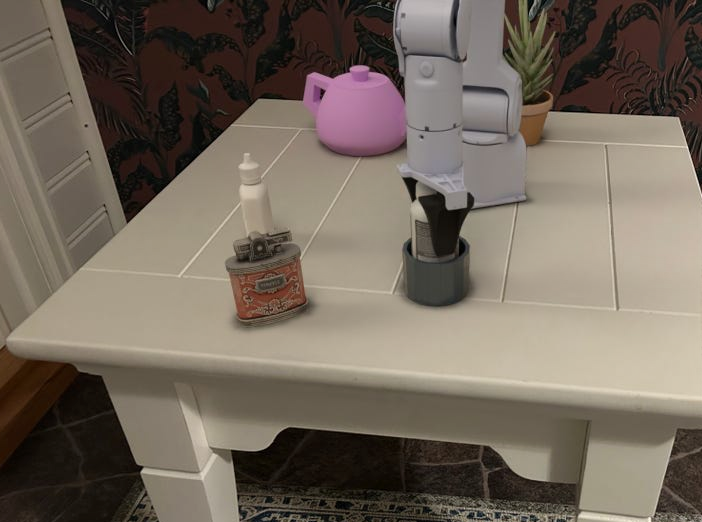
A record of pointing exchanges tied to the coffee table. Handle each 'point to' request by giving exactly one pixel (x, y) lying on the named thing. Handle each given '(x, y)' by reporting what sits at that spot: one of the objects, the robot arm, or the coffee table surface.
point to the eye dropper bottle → (254, 198)
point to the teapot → (357, 112)
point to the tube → (436, 277)
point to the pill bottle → (424, 230)
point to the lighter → (266, 278)
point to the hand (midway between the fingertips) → (436, 241)
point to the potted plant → (531, 74)
